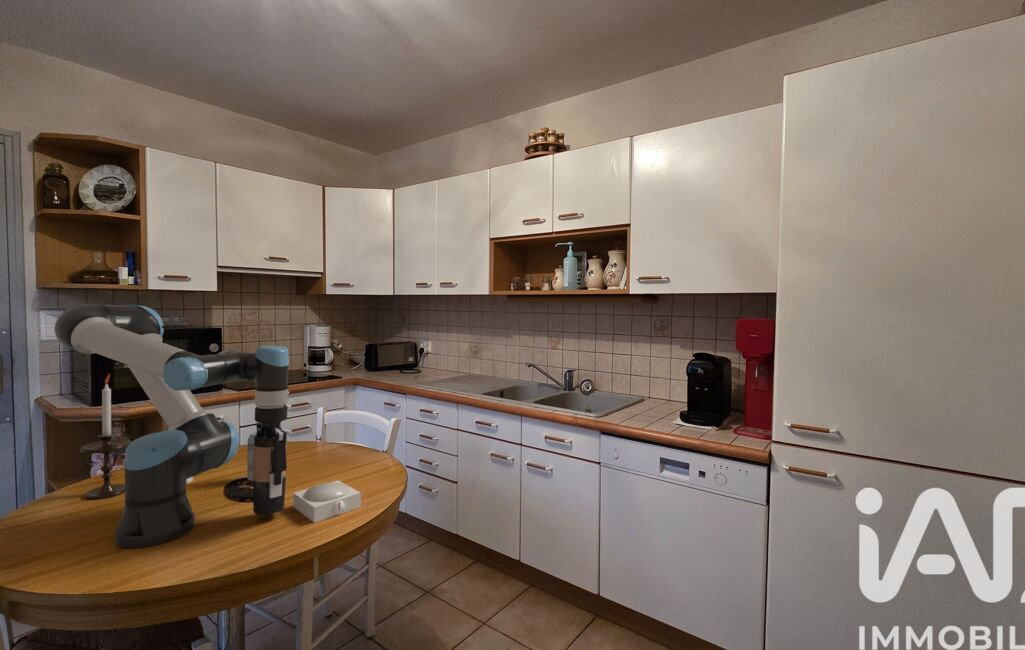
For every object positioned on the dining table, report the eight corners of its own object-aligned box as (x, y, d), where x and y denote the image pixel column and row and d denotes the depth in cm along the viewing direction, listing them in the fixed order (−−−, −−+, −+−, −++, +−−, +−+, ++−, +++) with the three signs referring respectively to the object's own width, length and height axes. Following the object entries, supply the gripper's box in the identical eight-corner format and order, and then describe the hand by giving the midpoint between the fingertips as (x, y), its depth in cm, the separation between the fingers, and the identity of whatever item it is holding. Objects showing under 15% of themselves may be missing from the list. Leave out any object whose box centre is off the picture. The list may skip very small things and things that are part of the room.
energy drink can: (273, 477, 145) (273, 431, 144) (258, 484, 139) (258, 436, 138) (257, 475, 146) (258, 429, 146) (242, 481, 140) (243, 434, 140)
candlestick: (141, 486, 135) (140, 371, 134) (108, 501, 124) (107, 376, 123) (105, 485, 135) (105, 370, 134) (69, 500, 124) (69, 375, 123)
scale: (315, 523, 114) (315, 505, 114) (293, 507, 124) (293, 490, 123) (361, 507, 124) (362, 490, 124) (338, 493, 133) (338, 477, 133)
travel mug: (291, 507, 119) (293, 433, 118) (262, 518, 112) (264, 439, 111) (274, 500, 123) (276, 428, 122) (246, 510, 116) (247, 434, 115)
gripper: (303, 410, 112) (300, 499, 113) (271, 397, 126) (269, 477, 127) (271, 414, 107) (268, 508, 108) (242, 400, 120) (240, 483, 121)
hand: (269, 491), depth 117 cm, fingers closed on travel mug, 8 cm apart
